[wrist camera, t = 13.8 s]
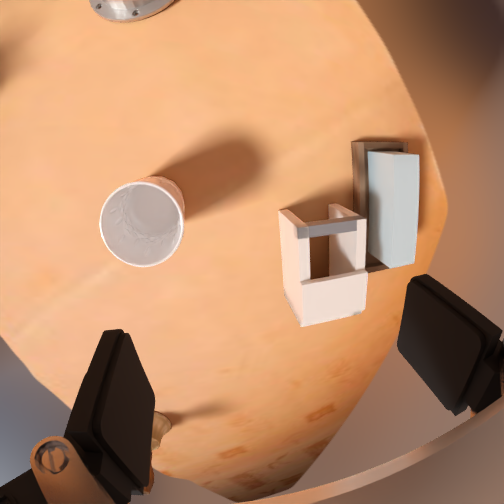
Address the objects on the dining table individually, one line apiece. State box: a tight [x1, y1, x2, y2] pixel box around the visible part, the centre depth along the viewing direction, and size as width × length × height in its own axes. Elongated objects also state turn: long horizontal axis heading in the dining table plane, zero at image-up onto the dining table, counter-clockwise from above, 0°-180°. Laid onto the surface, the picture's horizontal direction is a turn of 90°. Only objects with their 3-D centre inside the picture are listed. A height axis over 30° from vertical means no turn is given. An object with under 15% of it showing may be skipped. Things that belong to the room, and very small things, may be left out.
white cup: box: [100, 176, 185, 267], centre depth 30 cm, size 8×8×10 cm
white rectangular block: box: [368, 151, 419, 269], centre depth 35 cm, size 14×4×6 cm, turn 6°
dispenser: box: [278, 203, 368, 327], centre depth 36 cm, size 12×8×9 cm, turn 6°
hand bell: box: [144, 411, 171, 494], centre depth 40 cm, size 8×8×16 cm
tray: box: [351, 142, 408, 273], centre depth 38 cm, size 18×8×2 cm, turn 6°
